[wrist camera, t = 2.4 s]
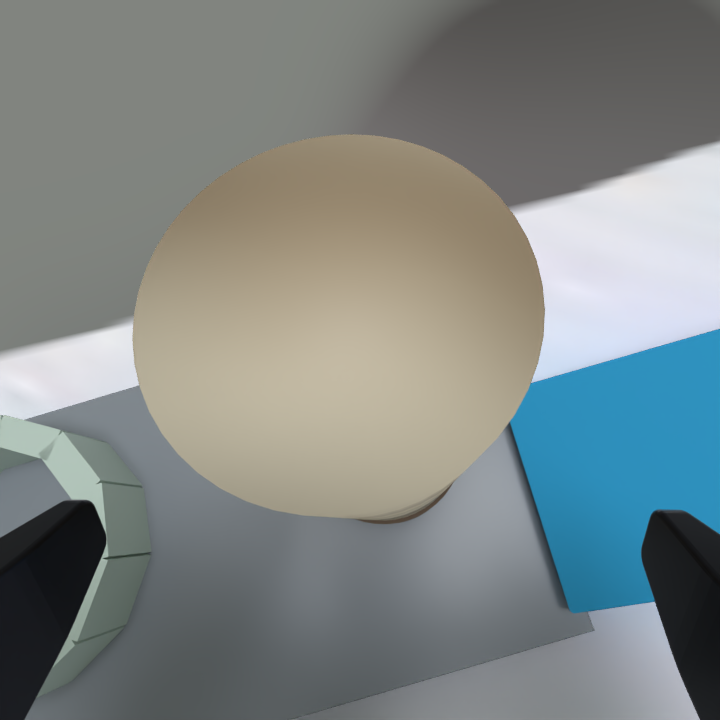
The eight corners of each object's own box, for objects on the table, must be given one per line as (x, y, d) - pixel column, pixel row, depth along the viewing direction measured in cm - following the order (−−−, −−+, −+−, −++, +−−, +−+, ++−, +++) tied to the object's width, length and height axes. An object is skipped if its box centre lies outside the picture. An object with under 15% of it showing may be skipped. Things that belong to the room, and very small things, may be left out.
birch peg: (443, 540, 16) (523, 584, 5) (298, 504, 17) (59, 466, 5) (468, 394, 17) (576, 150, 6) (333, 368, 18) (202, 110, 7)
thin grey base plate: (457, 302, 20) (467, 255, 16) (581, 622, 16) (629, 651, 12) (-58, 456, 20) (-158, 442, 16) (-64, 812, 16) (-198, 893, 12)
